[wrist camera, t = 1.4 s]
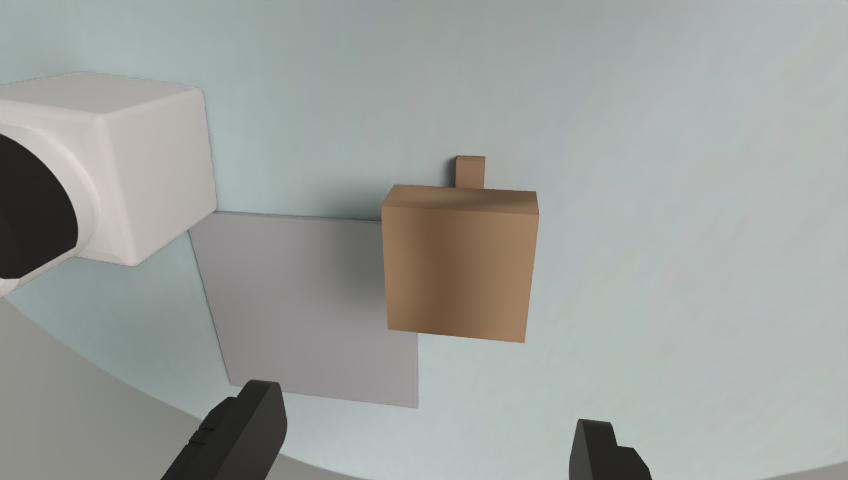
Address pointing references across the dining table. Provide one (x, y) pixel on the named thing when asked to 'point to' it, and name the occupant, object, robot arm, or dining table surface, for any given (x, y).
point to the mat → (305, 306)
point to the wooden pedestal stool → (459, 257)
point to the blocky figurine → (98, 171)
